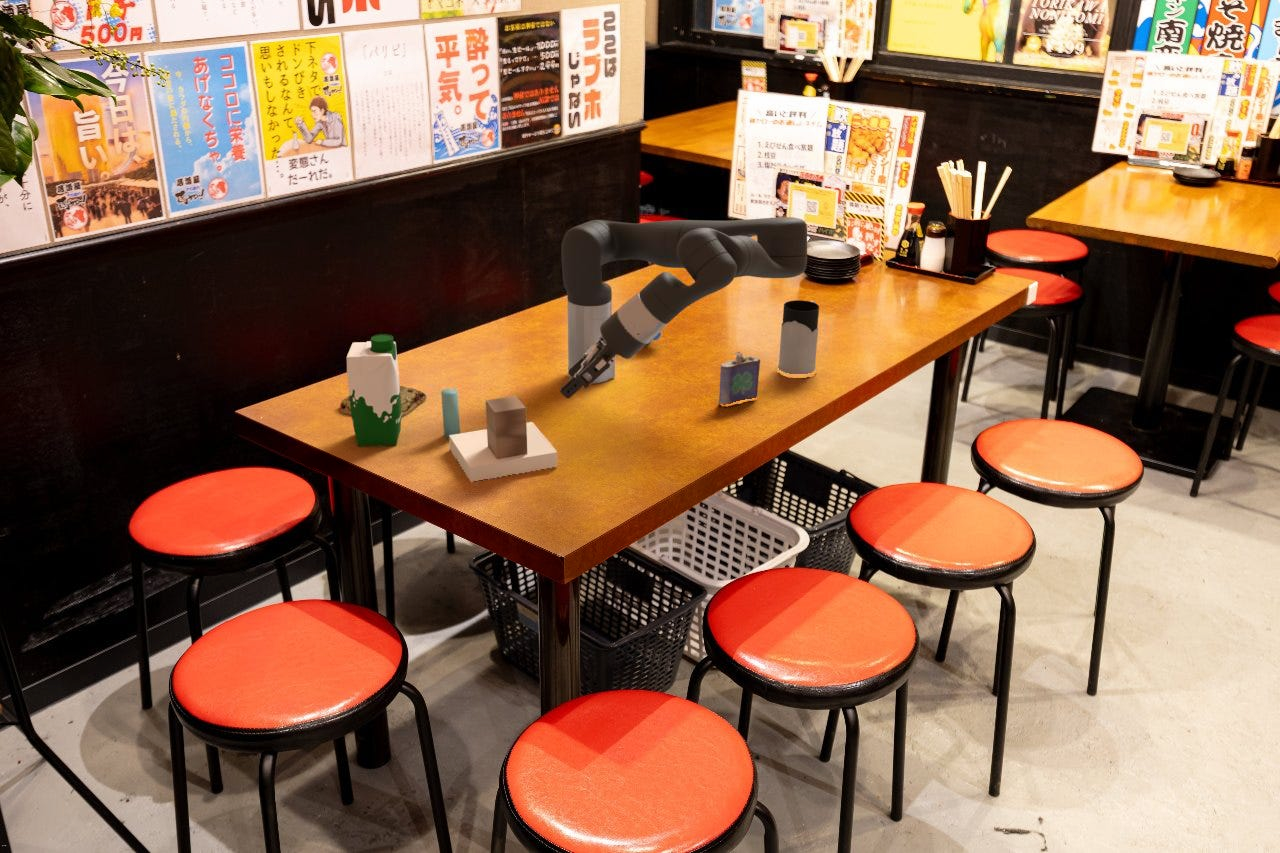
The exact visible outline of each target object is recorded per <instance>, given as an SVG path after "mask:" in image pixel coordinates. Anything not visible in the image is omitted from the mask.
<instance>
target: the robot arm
mask: <svg viewBox="0 0 1280 853" xmlns="http://www.w3.org/2000/svg"><path fill="white" fill-rule="evenodd" d="M755 236H756V238H757V239H754V238H752V237H755ZM560 249H561V268H562V271H561V272H562V282H563V287H564V289H565V292H566V295H567V297H566V298H567V301H566V302H567V355H568V356H567V357H568V358H567V359H568V360H567V361H568V365H567V366H568V367H567V368H568V369H567V370H568V372H567V373H568V378H569V379H568V381H567V382H566V383H565V384H563V385H562V386H561V387H560V390H559V392H560V394H562V395H563V396H564V398H566V399H571V398H572V397H573V396H574V395H575V394H576V393H577V392H578V391H580V389H581V388H584V389H587V388H589V387H590V385H591V384H594V385H595V384H601V383H605V382H607V381H609V380H610V379H614V378H616V355H617V356H620V357H621V358H623V359H628V360H629V359H631V358H633V357H634V356H635V355H636V354H638V352H640V351H641V350H642V349H643V348H644V347H645V346H646V344H647V343H649V342H650V341H651V340H652V339H653V338H654V337H655V336H656V335H658V334H659V333H660V331H661V332H662V330H663V329H664V328H666V326H667V325H668V324H669V323H671V321H672V320H674V319H675V318H676V317H677V316H678V315H679V314H680V313H681V312H683V311H684V310H685V309H686V308H687V307H689V306H691V305H693V304H694V303H696V302H698V301H700V300H701V299H703V298H705V297H707V296H709V295H712V294H713V293H716V292H718V291H721V290H722V289H724V288H726V287H727V286H729V285H730V284H731V283H732V282H733V280H734V279H735V278H736V279H737V278H741V277H752V278H759V279H760V278H761V279H762V278H763V279H790V278H796V277H799V276H801V275H802V274H804V272H805V271H806V269H807V264H808V225H807V222H806V221H805V220H803V219H802V218H798V217H793V216H792V217H791V216H789V217H788V216H782V217H781V216H778V217H777V216H776V217H764V218H752V219H751V218H750V219H739V220H738V219H737V220H704V219H703V220H702V219H701V220H699V219H697V220H696V219H695V220H694V219H692V220H691V219H684V220H683V219H681V220H662V221H661V220H660V221H649V222H638V223H637V222H636V223H631V222H622V221H621V222H620V221H611V220H604V219H594V220H590V221H586V222H584V223H581V224H578V225H576V226H574V227H571V228H570V229H568V230H567V231H566V232H565V234H564V236H563V238H562V242H561V248H560ZM624 260H625V261H627V260H642V261H645V262H648V263H651V264H653V265H656V266H659V267H662V268H663V267H664V268H671V269H685V270H686V272H687V273H688V274H689V275H690V277H691V278H692V280H694V282H693V283H692V284H691V285H687V284H686V283H684V282H682V280H680V279H679V277H676V275H674V274H672V273H670V272H667V271H663V272H661V273H659V274H658V275H657V276H655V277H654V278H653V279H651V281H650V282H649V283H648V284H646V285H645V287H643V288H642V289H640V291H639V292H638V293H636V294H635V295H634V296H632V297H630V298H629V299H628V300H627V301H625V303H624V304H622V305H621V306H620V307H619V308H618V309H616V310H615V312H614V313H613V312H612V310H613V308H612V306H613V304H612V303H613V302H612V299H613V293H612V291H613V289H612V287H611V285H610V284H608V283H607V282H605V281H603V278H602V266H603V265H605V264H608V263H611V262H612V263H613V262H615V261H616V262H617V261H624ZM652 341H653V340H652ZM647 345H648V344H647Z"/></svg>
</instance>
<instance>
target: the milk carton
mask: <svg viewBox="0 0 1280 853" xmlns="http://www.w3.org/2000/svg"><path fill="white" fill-rule="evenodd" d="M397 353H398V352H397V343H396V341H394V336H393V335H391V334H386V333H384V334H383V333H382V334H381V333H380V334H375V335H373V336H371V337H370V340H369V341H368V340H367V341H366V342H364V341H363V342H361V341H360V342H358V341H357V342H356V341H355V342H354V341H353V342H352V344H351V346H350V348H349V351H348V353H347V356H346V376H347V378H346V379H347V387H348V396H349V397H350V407H351V415H350V416H351V421H352V422H351V423H352V426H353V430H354V431H353V432H354V434H355V441H356V444H357V447H379V446H378V445H391V446H397V445H398V444H397V443H398V440H399V436H400V432H401V427H402V426H401V425H402V418H401V414H402V409H401V395H400V386H401V384H400V374H399V365H398V364H399V362H398V354H397Z"/></svg>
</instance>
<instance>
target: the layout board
mask: <svg viewBox="0 0 1280 853" xmlns="http://www.w3.org/2000/svg"><path fill="white" fill-rule="evenodd" d="M526 425H527V454H525V455H519V456H513V457H508V458H502V459H496V457H495V456H494V454H493V453H492V452H491V450H490V449H489V447H488V440H487V428H485V429H480V430H473V431H467V432H460V434H454V435H449V439H448V440H449V450H451V451H450V453H451V454H452V455H453V457H454V458H455V460H456V459H457V460H456V461H458V462H459V463H458V462H457V463H458V465H459V464H460V465H459V467H460V468H461V467H462V468H461V469H462V471H463V470H464V471H463V472H465V473H466V474H465V473H464V474H465V476H466V475H467V476H468V477H467V476H466V477H467V478H469V479H470V480H469V479H468V480H469V482H470V481H477V482H479V481H478V480H483V479H488V480H492V478H494V479H497V477H499V478H503V477H502V476H505V477H507V476H506V475H511V476H513V475H512V474H516V475H520V474H519V473H522V474H526V473H525V472H527V473H531V472H530V471H533V472H536V471H535V470H538V471H541V470H540V469H544V470H547V469H546V468H550V469H553V468H552V467H555V468H557V467H556V466H559V465H558V464H559V463H558V459H559V458H558V451H557V450H556V449H555V447H554V446H553V445H552V443H551V442H550V440H548V439H547V437H545V435H544V434H543V433H542V431H540V430H539V428H538V427H537V426H536V424H535V423H534V422H533V421H530V422H526ZM490 478H491V479H490ZM483 481H484V480H483Z"/></svg>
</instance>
